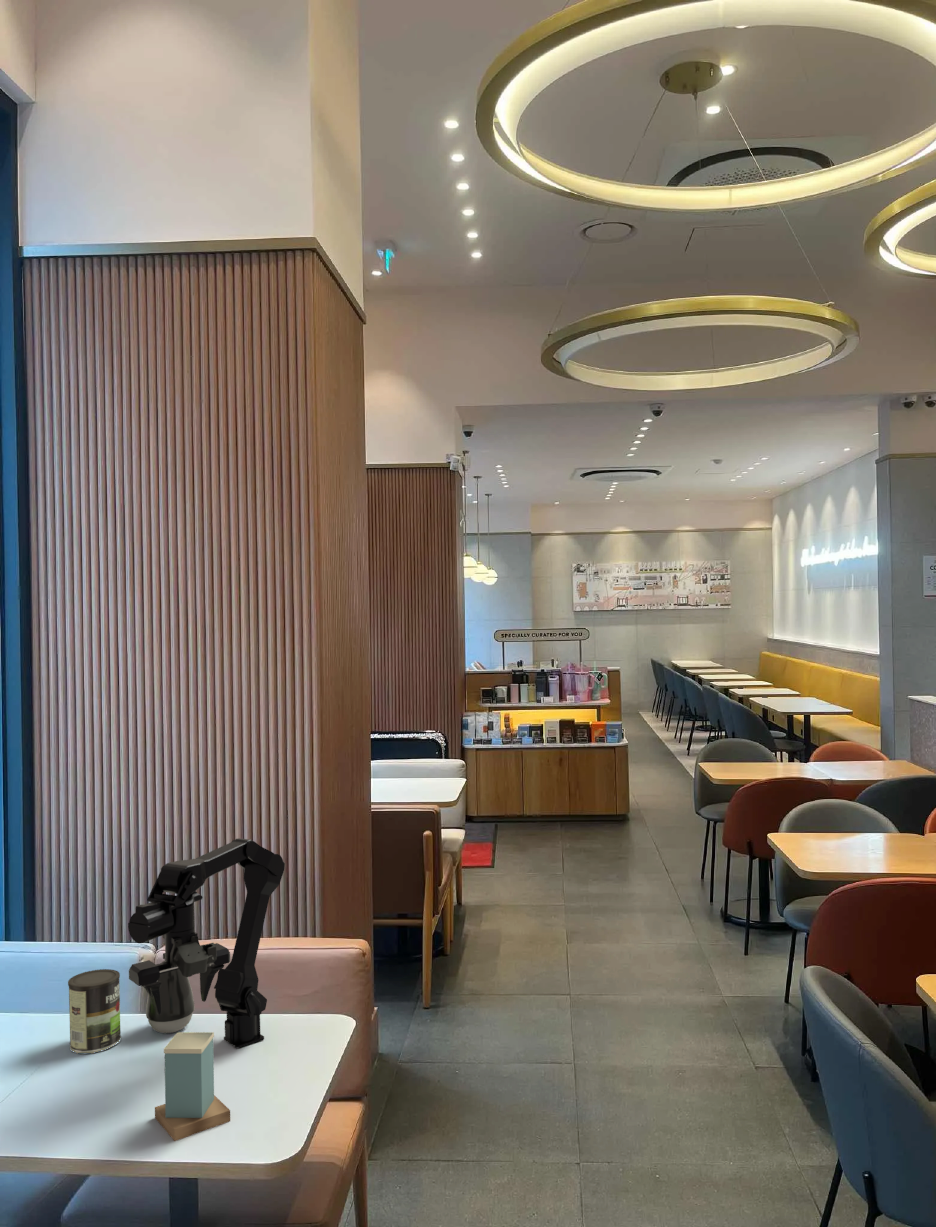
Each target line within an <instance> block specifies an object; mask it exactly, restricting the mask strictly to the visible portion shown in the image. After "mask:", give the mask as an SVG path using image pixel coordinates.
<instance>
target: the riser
mask: <svg viewBox="0 0 936 1227" xmlns="http://www.w3.org/2000/svg"><path fill="white" fill-rule="evenodd" d="M154 1119H155V1120H156V1121H157V1122H158V1123H159V1125H160V1126H161V1127H162V1128H163V1129H164V1131H165V1132H166V1133H167V1134H168V1135H169V1136H170V1137H171V1138H172V1140H173V1141H174V1142H176V1141H179V1140H181V1139H185V1138H187V1137H190V1136H193V1135H196V1134H198V1133H199V1134H200V1133H201V1132H204V1131H206V1130H209V1129H210V1130H211V1129H212V1128H214V1127H218V1126H221V1125H223V1124H226V1123H229V1122H231V1109H230V1108H229V1107H228V1106H226V1105H225V1104H224V1103H223V1102H222V1101H221V1100H220V1099H219V1098H218V1097H217V1096H216V1095H215V1094H214V1100H213V1102H212V1103H211V1105H210V1106H209V1108H208V1110H207V1111H206V1113H205V1114H204V1116H203V1117H202V1118H166V1114H165V1103H163V1104H160V1105H156V1106H154Z"/></svg>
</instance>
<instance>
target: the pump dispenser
mask: <svg viewBox="0 0 936 1227" xmlns="http://www.w3.org/2000/svg"><path fill="white" fill-rule="evenodd" d="M163 962H165V959H164V960H163V961H161V962H160V963H163ZM158 981H159V982H161V986H160V1000H161V1014H160V1015H158V1014H157V1013H156V1010H155V1008H154V1006H153V1003H152V1001H151V999H150V996H149V994H148V993H147V999H146V1000H147V1001H146V1006H145V1007H146V1008H145V1009H146V1010H145V1017H146V1018H147V1022H148V1023H149V1025H150V1027H151V1028H152V1029H153V1030H154V1031H155V1032H157V1033H161V1034H173V1033H178V1032H180V1031H181V1030H183V1029H185V1027H187V1026H188V1024H189V1023H190V1021H191V1020H192V1017H193V1014H194V1011H195V1000H194V993H193V989H192V985H191V982H190V978H189V977H184V976H183V975H182V973H181V971H180V969H177V970H173V971H169V972H166V973H162V974H160V978H159V979H158Z"/></svg>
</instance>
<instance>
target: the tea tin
mask: <svg viewBox="0 0 936 1227" xmlns="http://www.w3.org/2000/svg"><path fill="white" fill-rule="evenodd" d="M214 1038H215V1032H214V1031H213V1032H212V1031H209V1032H205V1031H203V1032H200V1031H198V1032H197V1031H194V1032H193V1031H191V1032H189V1031H188V1032H186V1031H185V1032H184V1031H183V1032H182V1031H181V1032H180V1031H177V1032H176V1034H174V1036H173V1037H172V1039H171V1040H170V1041H169V1042H168V1043H167V1044H166V1046H165V1047H164V1048H163V1054H164V1088H165V1089H164V1094H165V1096H164V1098H165V1100H164V1101H165V1102H164V1104H165V1114H166V1118H202V1117H203V1116H204V1114H205V1113H206V1111H207V1110H208V1108H209V1106H210V1105H211V1103H212V1102H213V1100H214V1095H215V1076H214V1075H215V1074H214V1073H215V1071H214V1070H215V1066H214V1063H215V1062H214V1058H215V1056H214Z"/></svg>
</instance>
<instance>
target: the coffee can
mask: <svg viewBox="0 0 936 1227" xmlns="http://www.w3.org/2000/svg"><path fill="white" fill-rule="evenodd" d="M120 976H121V973H120V972H119V971H118V970H115V969H109V968H108V969H107V968H103V969H93V970H88V971H84V972H81V973H78V974H76V975H74V976H72V977H70V978H69V979H68V981H67V985H68V986H67V987H68V1003H69V1004H68V1005H69V1007H68V1008H69V1009H68V1011H69V1014H68V1015H69V1044H70V1045H69V1050H70V1049H71V1050H72V1051H74V1052H76V1053H75V1054H78V1053H91V1054H95V1053H94V1052H98V1051H101V1050H105V1049H107V1048H109V1047H112V1046H113V1045H115V1044H116V1043H117V1042H119V1040H120V1038H121V1039H122V1036H121V1031H122V1030H121V1000H120V999H121V993H120V987H121V986H120ZM119 1043H120V1042H119ZM112 1048H113V1047H112ZM71 1050H70V1051H71ZM72 1051H71V1052H72ZM105 1051H106V1050H105ZM74 1052H73V1053H74ZM98 1053H99V1052H98Z"/></svg>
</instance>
